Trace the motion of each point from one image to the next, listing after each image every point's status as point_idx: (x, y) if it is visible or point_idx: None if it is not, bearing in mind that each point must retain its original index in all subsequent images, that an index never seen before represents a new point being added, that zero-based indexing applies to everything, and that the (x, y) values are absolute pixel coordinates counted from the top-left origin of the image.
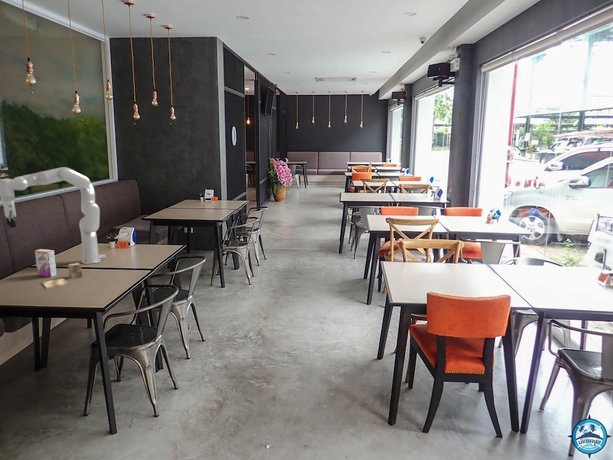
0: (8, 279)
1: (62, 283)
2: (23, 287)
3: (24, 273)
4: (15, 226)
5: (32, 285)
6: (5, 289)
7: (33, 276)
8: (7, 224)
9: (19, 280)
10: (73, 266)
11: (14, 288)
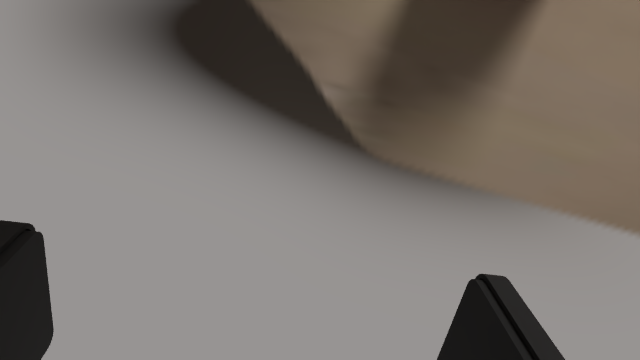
0: (372, 141)
1: None
2: (613, 140)
3: (306, 17)
4: (503, 285)
5: (630, 92)
6: (554, 210)
7: (444, 4)
8: (40, 353)
9: (455, 105)
10: None
11: (582, 176)
